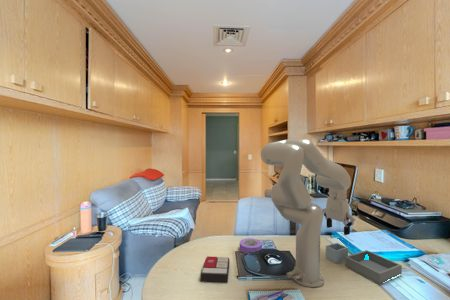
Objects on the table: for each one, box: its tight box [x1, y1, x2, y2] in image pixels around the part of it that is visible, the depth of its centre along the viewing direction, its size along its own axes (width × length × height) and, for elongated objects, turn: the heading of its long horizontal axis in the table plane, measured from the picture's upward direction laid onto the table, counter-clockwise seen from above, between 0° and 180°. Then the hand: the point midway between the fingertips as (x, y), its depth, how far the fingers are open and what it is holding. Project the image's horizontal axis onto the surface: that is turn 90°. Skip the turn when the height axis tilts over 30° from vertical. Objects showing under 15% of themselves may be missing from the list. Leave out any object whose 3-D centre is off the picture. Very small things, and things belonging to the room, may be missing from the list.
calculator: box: [200, 255, 230, 284], centre depth 98 cm, size 11×4×15 cm
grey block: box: [325, 243, 349, 264], centre depth 109 cm, size 8×6×6 cm
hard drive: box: [326, 237, 346, 247], centre depth 125 cm, size 2×8×12 cm
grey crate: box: [344, 249, 403, 286], centre depth 99 cm, size 15×15×4 cm
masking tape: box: [239, 237, 263, 254], centre depth 119 cm, size 12×12×4 cm
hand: (337, 230), depth 110 cm, fingers open, 9 cm apart
